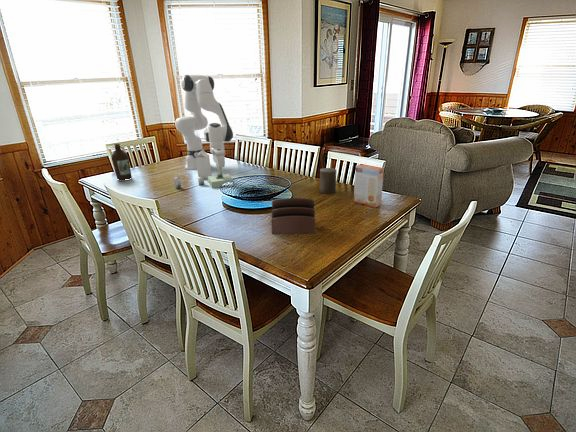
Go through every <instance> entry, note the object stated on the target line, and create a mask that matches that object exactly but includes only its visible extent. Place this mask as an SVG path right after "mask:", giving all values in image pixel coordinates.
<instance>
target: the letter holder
mask: <svg viewBox="0 0 576 432" xmlns="http://www.w3.org/2000/svg"><path fill="white" fill-rule="evenodd" d="M315 211H316V210H315V200H314V199H311V198H305V197H304V198H303V197H302V198H301V197H290V198H279V199H278V198H277V199H273V200H272V201H271V221H270V222H271V234H272V235H276V234H277V235H287V234H288V235H291V234H292V235H293V234H295V235H296V234H299V235H300V234H316V217H315V216H316V212H315Z"/></svg>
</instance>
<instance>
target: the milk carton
mask: <svg viewBox="0 0 576 432" xmlns="http://www.w3.org/2000/svg"><path fill="white" fill-rule="evenodd" d="M196 162H197V169H196V170H197V175H198V177H204V179H208V176H212V169H211V160H210V154H208V153H207V152H206V151H205V150H204V148H203V150H202V151H200V152H199V153H198V156H197V157H196ZM198 177H197V178H198Z"/></svg>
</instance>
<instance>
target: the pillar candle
mask: <svg viewBox="0 0 576 432" xmlns="http://www.w3.org/2000/svg"><path fill="white" fill-rule="evenodd" d="M336 189H337V169H336V168H333V167H324V168H320V169H319V192H320V194H323V195H331V194H332V195H333V193H334V194H335V193H336V191H337V190H336Z"/></svg>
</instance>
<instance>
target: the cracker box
mask: <svg viewBox="0 0 576 432" xmlns="http://www.w3.org/2000/svg"><path fill="white" fill-rule="evenodd" d="M384 170H385V167H381V166H380V167H379V166H374V165H370V164H369V165H368V164H364V163H360V164H358V165H355V174H354V175H355V176H354V190H353V191H354V193H353V202H354V203H356V202H357V203H356V204H360V205H363V204H364V206H367V207H371V208H374V209H376V208H378V207H379V206H381V205H382V195H383V186H384V185H383V184H384V183H383V182H384V174H385V173H384V172H385V171H384Z"/></svg>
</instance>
